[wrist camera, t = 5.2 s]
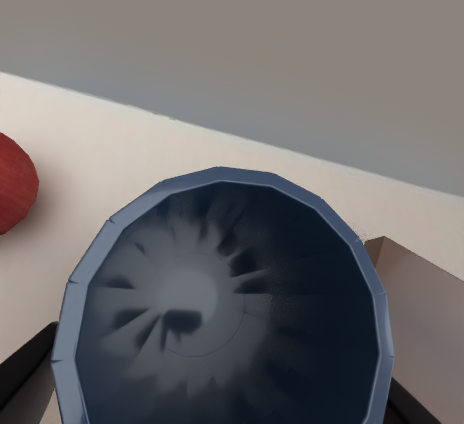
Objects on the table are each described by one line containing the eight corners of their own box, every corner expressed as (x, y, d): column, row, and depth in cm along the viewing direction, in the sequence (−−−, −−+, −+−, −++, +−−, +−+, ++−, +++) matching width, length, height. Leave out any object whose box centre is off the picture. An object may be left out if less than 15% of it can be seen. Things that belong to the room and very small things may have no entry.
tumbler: (159, 381, 15) (108, 668, 4) (128, 269, 17) (19, 215, 5) (263, 333, 17) (447, 419, 6) (227, 236, 19) (315, 141, 7)
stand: (441, 479, 17) (516, 532, 13) (292, 399, 17) (327, 430, 13) (466, 314, 21) (530, 319, 17) (346, 246, 20) (384, 235, 17)
